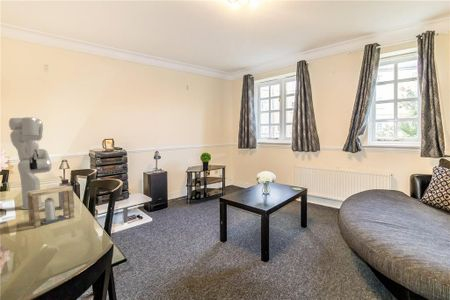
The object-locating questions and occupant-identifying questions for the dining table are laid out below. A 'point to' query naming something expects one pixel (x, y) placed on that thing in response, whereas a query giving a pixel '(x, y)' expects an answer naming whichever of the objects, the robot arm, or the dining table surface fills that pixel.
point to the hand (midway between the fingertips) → (33, 169)
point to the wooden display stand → (33, 195)
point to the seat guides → (53, 220)
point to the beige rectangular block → (64, 182)
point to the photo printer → (49, 209)
